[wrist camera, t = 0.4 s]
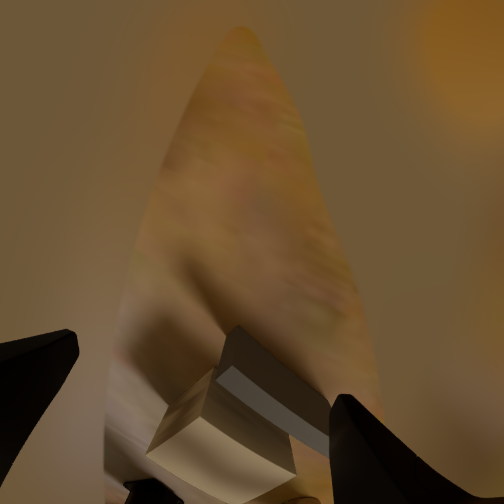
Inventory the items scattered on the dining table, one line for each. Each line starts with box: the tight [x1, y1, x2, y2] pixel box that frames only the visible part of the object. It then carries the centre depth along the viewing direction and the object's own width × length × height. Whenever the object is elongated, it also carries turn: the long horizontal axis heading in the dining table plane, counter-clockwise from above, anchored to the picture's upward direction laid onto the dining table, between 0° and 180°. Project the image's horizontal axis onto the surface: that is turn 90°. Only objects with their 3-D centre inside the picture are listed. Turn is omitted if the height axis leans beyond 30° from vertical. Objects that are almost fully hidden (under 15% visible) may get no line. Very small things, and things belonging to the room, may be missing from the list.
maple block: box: [145, 367, 297, 504], centre depth 19 cm, size 7×10×8 cm
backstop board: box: [215, 325, 331, 458], centre depth 19 cm, size 2×12×8 cm, turn 46°
